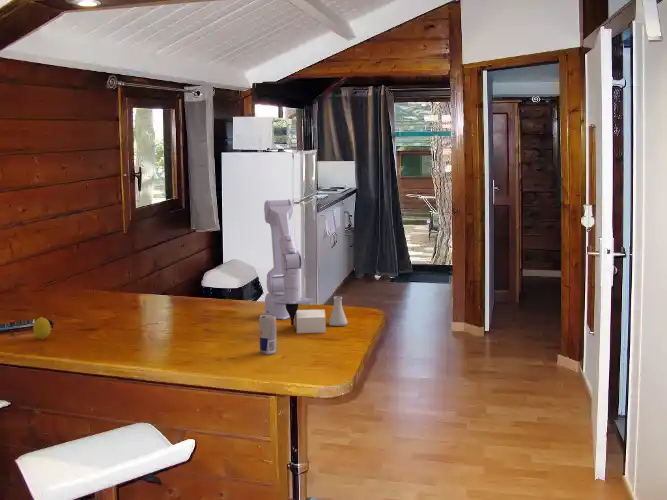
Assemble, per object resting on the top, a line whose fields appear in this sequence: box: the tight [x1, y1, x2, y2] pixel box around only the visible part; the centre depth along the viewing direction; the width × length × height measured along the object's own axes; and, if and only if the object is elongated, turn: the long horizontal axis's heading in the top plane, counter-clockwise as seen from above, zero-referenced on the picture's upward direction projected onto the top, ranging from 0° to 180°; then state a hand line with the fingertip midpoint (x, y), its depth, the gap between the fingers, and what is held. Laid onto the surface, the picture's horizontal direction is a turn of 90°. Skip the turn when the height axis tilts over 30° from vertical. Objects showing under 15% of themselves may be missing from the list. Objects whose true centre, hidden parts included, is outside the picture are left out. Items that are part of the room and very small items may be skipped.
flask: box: [327, 295, 349, 327], centre depth 272 cm, size 7×7×10 cm
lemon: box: [32, 316, 51, 340], centre depth 257 cm, size 6×6×8 cm
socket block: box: [294, 309, 327, 334], centre depth 267 cm, size 10×11×6 cm
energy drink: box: [258, 313, 278, 356], centre depth 239 cm, size 5×5×12 cm
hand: (292, 324), depth 266 cm, fingers closed
